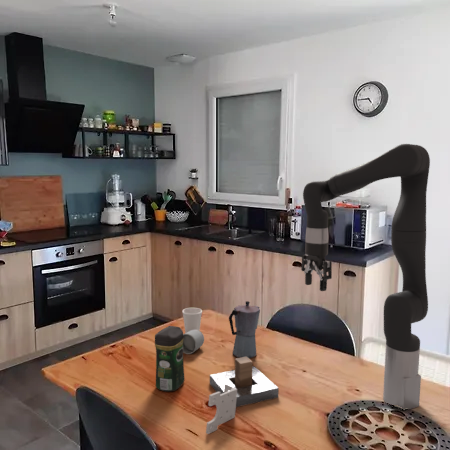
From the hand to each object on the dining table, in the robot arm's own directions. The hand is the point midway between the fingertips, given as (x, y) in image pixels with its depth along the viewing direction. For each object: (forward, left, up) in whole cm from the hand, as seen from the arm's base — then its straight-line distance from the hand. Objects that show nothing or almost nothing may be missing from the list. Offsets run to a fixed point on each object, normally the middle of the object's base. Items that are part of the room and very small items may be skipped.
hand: (315, 287), depth 152 cm
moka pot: (+18, +18, -28) cm, 38 cm away
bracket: (-19, +44, -28) cm, 56 cm away
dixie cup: (+45, +29, -28) cm, 61 cm away
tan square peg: (-6, +30, -28) cm, 42 cm away
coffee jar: (+6, +50, -28) cm, 58 cm away
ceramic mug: (+30, +36, -28) cm, 55 cm away
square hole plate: (-6, +30, -28) cm, 42 cm away
